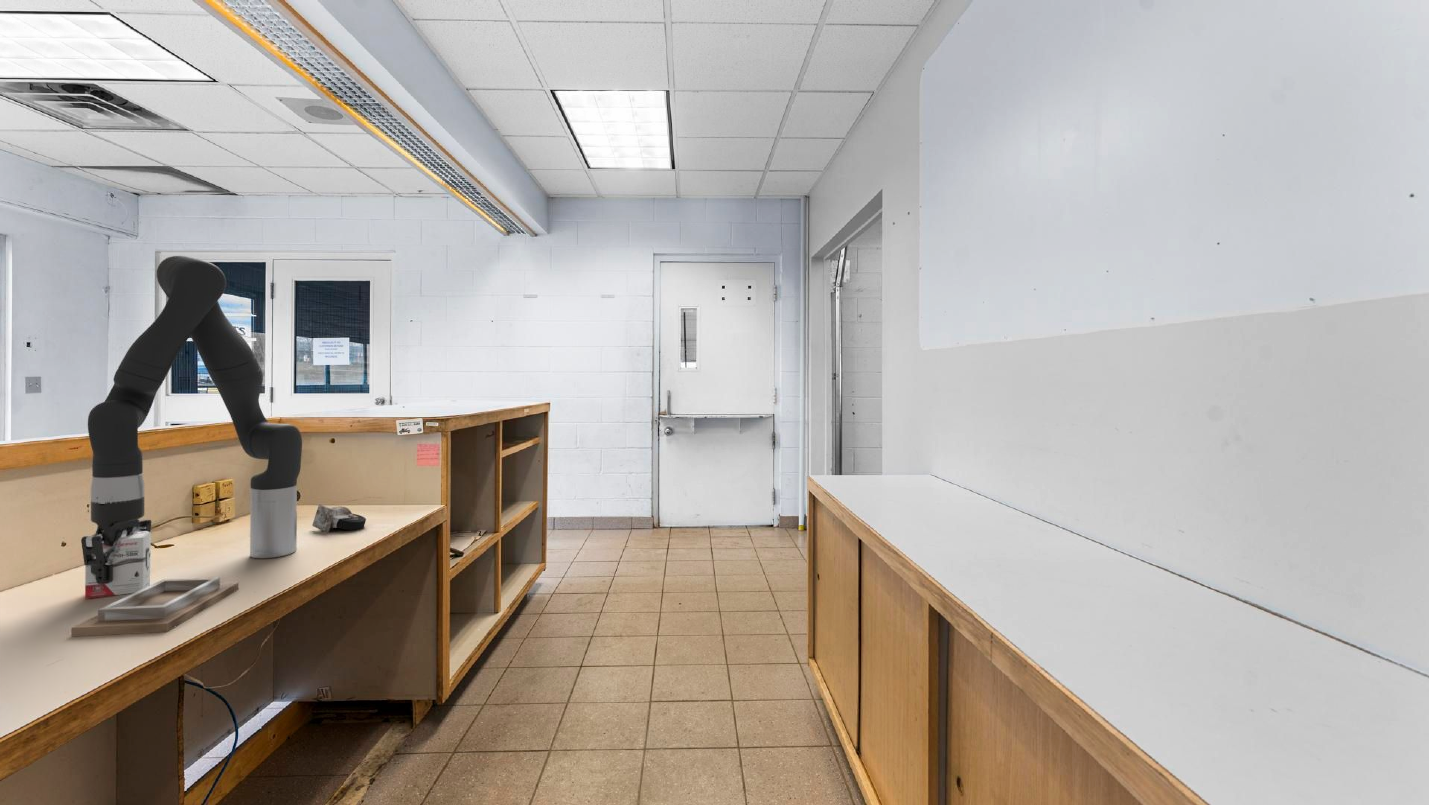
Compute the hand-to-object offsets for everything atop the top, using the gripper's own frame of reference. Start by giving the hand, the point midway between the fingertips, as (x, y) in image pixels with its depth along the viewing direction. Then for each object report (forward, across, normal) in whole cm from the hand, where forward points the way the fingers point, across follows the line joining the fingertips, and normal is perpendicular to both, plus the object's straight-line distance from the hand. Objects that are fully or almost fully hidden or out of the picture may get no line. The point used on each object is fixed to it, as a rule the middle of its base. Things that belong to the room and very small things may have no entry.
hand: (118, 577), depth 114 cm
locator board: (+3, +11, +15) cm, 19 cm away
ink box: (+3, 0, 0) cm, 3 cm away
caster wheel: (+3, -47, +22) cm, 52 cm away
